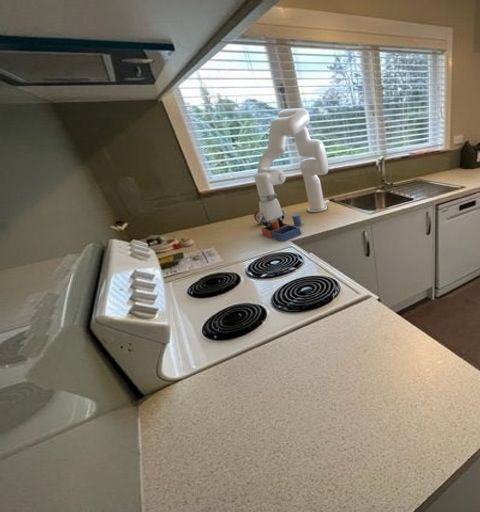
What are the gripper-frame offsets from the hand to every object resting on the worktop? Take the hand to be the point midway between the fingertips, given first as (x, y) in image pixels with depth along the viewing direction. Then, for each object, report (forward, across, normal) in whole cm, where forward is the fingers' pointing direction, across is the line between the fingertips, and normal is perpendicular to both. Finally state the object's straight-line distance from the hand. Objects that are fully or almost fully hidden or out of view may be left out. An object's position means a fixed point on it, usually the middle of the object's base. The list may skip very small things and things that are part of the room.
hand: (276, 230), depth 158 cm
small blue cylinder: (+1, -13, +2) cm, 13 cm away
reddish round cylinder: (+1, 0, 0) cm, 1 cm away
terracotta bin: (+1, 0, 0) cm, 1 cm away
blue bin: (+1, 0, +10) cm, 10 cm away
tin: (+2, -8, -20) cm, 21 cm away
